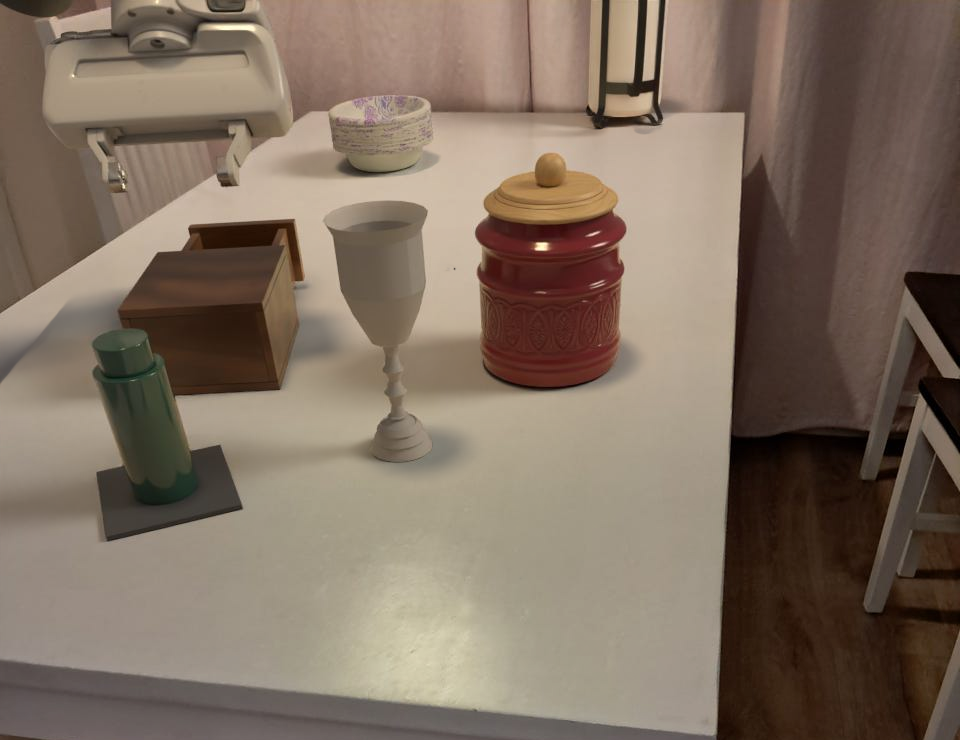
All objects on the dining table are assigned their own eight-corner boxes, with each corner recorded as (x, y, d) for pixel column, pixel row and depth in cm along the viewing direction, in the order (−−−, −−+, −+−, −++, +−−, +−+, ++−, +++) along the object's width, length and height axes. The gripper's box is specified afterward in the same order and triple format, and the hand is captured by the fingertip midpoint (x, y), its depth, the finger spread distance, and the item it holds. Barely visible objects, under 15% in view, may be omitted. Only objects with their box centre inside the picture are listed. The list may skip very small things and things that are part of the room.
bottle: (121, 491, 72) (68, 342, 64) (174, 464, 74) (130, 318, 66) (158, 512, 69) (108, 361, 61) (212, 484, 72) (170, 335, 64)
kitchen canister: (626, 334, 90) (638, 133, 78) (610, 395, 81) (621, 177, 69) (496, 328, 93) (490, 132, 81) (466, 386, 83) (453, 174, 72)
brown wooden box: (178, 331, 96) (157, 251, 90) (299, 325, 96) (285, 244, 90) (143, 396, 85) (116, 310, 79) (280, 389, 85) (262, 302, 79)
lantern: (556, 123, 155) (558, -107, 135) (618, 104, 162) (629, -115, 143) (635, 139, 145) (650, -106, 125) (698, 118, 153) (722, -115, 133)
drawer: (210, 270, 106) (197, 213, 102) (309, 265, 106) (299, 207, 102) (177, 332, 93) (160, 269, 89) (289, 326, 93) (277, 262, 89)
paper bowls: (337, 183, 134) (329, 121, 129) (333, 156, 145) (325, 98, 140) (441, 173, 135) (437, 112, 130) (429, 147, 147) (425, 90, 141)
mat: (97, 475, 74) (96, 471, 74) (221, 448, 77) (220, 444, 77) (107, 541, 67) (105, 536, 67) (243, 508, 70) (241, 504, 69)
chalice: (439, 421, 79) (421, 196, 67) (451, 461, 74) (434, 225, 62) (354, 431, 78) (320, 206, 66) (360, 472, 73) (325, 236, 61)
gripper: (25, 6, 74) (28, 171, 73) (277, -9, 74) (283, 157, 73) (62, 60, 81) (65, 213, 80) (294, 46, 80) (300, 199, 79)
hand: (171, 186), depth 76 cm, fingers open, 8 cm apart
